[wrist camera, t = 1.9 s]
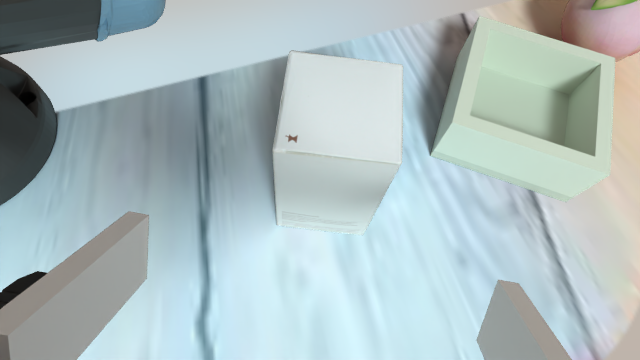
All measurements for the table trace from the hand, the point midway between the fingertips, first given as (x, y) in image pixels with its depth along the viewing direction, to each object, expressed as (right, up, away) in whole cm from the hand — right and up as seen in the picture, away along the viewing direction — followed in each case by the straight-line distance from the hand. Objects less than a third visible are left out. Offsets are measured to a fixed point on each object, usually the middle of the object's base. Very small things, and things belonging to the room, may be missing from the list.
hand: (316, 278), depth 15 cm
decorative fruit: (+28, +17, +29) cm, 43 cm away
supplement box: (0, +3, +20) cm, 20 cm away
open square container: (+18, +9, +24) cm, 31 cm away
